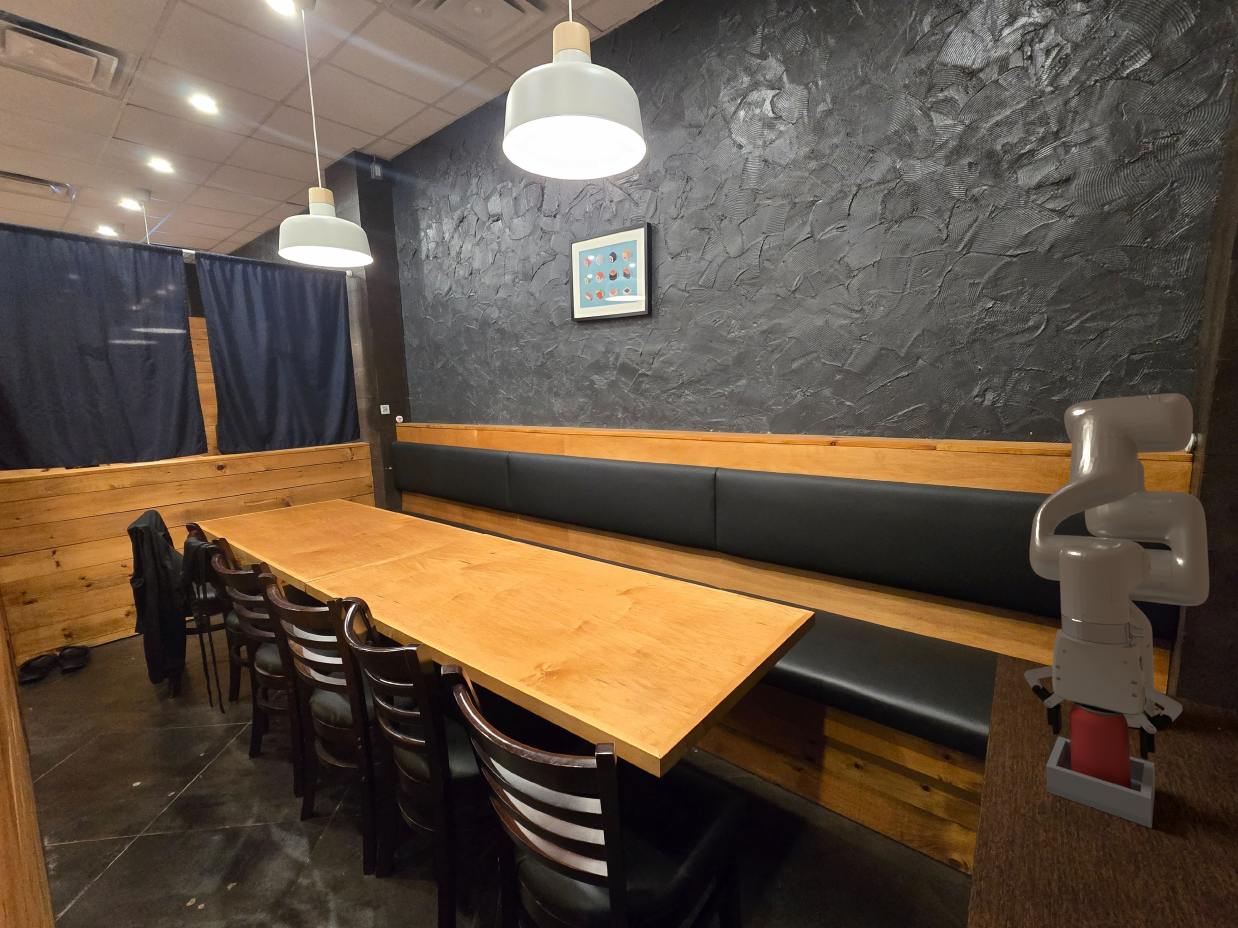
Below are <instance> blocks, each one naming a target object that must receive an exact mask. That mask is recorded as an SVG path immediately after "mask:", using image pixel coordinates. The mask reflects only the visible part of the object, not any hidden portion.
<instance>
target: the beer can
mask: <svg viewBox="0 0 1238 928" xmlns="http://www.w3.org/2000/svg"><path fill="white" fill-rule="evenodd" d="M1068 714H1069V715H1068V718H1069V739H1070V746H1071V771H1075V772H1078V773H1081V774H1084V775H1087V776H1091V777H1094V778H1097V779H1100V780H1103V781H1106V782H1110V783H1113V784H1116V785H1119V786H1122V787H1126V788H1129V789H1131V771H1130V757H1131V751H1130V749H1131V748H1130V746H1131V744H1130V728H1129V726H1128V723H1127V720H1126V718H1125V716H1124V714H1122V713H1118V712H1113V711H1109V710H1105V709H1101V708H1096V707H1092V706H1088V705H1084V704H1080V703H1076V702H1072V704H1071V706H1070V708H1069V710H1068Z"/></svg>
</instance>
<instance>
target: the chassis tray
mask: <svg viewBox="0 0 1238 928" xmlns="http://www.w3.org/2000/svg"><path fill="white" fill-rule="evenodd" d="M1130 771H1131V789H1129V788H1126V787H1122V786H1119V785H1116V784H1113V783H1110V782H1106V781H1103V780H1100V779H1097V778H1094V777H1091V776H1087V775H1084V774H1081V773H1078V772H1075V771H1071V746H1070V738H1065V737H1062V736H1059V735H1058V736H1057V738H1056V740H1055V744H1054V746H1053V749H1052V751H1051V753H1050V756H1049V758H1048V760H1047V763H1046V765H1045V772H1046V792H1047V793H1048V792H1049V793H1048V794H1051V795H1055V796H1058V797H1060V796H1061V798H1063V799H1066V800H1069V801H1072V802H1074V803H1077V804H1080V805H1083V806H1086V807H1090V808H1092V807H1093V808H1092V809H1094V808H1095V810H1097V811H1100V812H1103V813H1106V814H1108V815H1112V816H1115V817H1117V818H1120V817H1121V819H1124V820H1127V821H1129V822H1133V823H1135V824H1138V825H1142V826H1144V827H1147V828H1150V829H1152V828H1153V820H1154V819H1153V817H1154V807H1155V806H1154V805H1155V795H1156V793H1155V792H1156V778H1155V777H1156V776H1155V775H1156V773H1155V762H1152V761H1148V760H1145V759H1141V758H1136V757H1134V756H1130Z"/></svg>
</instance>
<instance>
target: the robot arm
mask: <svg viewBox="0 0 1238 928" xmlns="http://www.w3.org/2000/svg"><path fill="white" fill-rule="evenodd" d="M1193 416H1194V412H1193V407H1192V404H1191V402H1190V400H1189V399H1188V398H1187V397H1186V396H1185V395H1184V394H1181V393H1175V392H1174V393H1173V392H1172V393H1171V392H1169V393H1157V394H1146V395H1134V396H1120V397H1119V396H1118V397H1107V398H1097V399H1091V400H1084V401H1081V402H1076V403H1074V404H1072V405H1070V406H1069V407H1068V408H1066V410H1065V412H1064V415H1063V418H1064V419H1063V421H1064V427H1065V430H1066V434H1067V436H1068V438H1069V439H1068V440H1069V441H1070V443H1071V455H1070V468H1069V480H1068V482H1067V483H1065V484H1064V485H1062V486H1061V487H1059V488H1058V489H1056V490H1055V491H1054V492H1053V493H1051V495H1049V496H1048V497H1047V498H1046V499H1045V500H1044V502H1042V504H1040V506H1039V508H1038V509H1037V510H1036V512H1035V514H1034V517H1033V520H1032V525H1031V534H1030V542H1029V544H1030V545H1029V562H1030V566H1031V568H1032V570H1033V572H1034V573H1035V574H1036V575H1037V576H1039V577H1040V578H1043V579H1045V580H1051V581H1058V582H1059V587H1060V589H1059V592H1060V613H1061V615H1060V617H1061V619H1060V620H1061V629H1058V630H1057V631H1056V634H1055V639H1054V644H1053V652H1052V653H1053V654H1052V665H1048V666H1042V667H1038V668H1033V669H1028V670H1025V672H1024V673H1023V677H1024V678H1025V680H1026V681H1027V683H1028V685H1029V686H1030V688H1031V690H1032V692H1033V693H1034V694H1035V695H1036V696H1037V697H1038V698H1039V699H1040V700H1041V701H1042V702H1043V704H1044V706H1045V707H1046V712H1047V713H1046V714H1047V716H1046V717H1047V725H1048V726H1050V727H1052V734H1053V735H1056V736H1057V735H1058V736H1059V735H1060V733H1061V731H1062V727H1063V724H1062V723H1063V722H1062V721H1063V720H1062V719H1063V718H1062V704H1060V703H1061V702H1062V701H1064V700H1065V701H1068V702H1072V703H1073V702H1076V703H1080V704H1084V705H1088V706H1092V707H1096V708H1101V709H1105V710H1109V711H1113V712H1118V713H1122V714H1124V716H1125V718H1126V720H1127V723H1128V726H1129V727H1130V728H1137V729H1139V752H1140V753H1139V756H1140V758H1142V759H1141V760H1145V761H1148V760H1149V753H1151V754H1155V753H1156V737H1155V736H1156V735H1155V734H1156V733H1157V731H1160V730H1162V729H1164V728H1166V727H1169V726H1171V725H1172V724H1173V722H1174V721H1175V720H1176V719H1177V718H1178V717H1179V716H1180V715H1181V713H1182V712H1183V705H1182V704H1181V703H1180V702H1178V701H1176V700H1175V699H1174V698H1171V697H1169V696H1168V695H1165V694H1163V693H1162V692H1160V691H1159V690H1158V689H1157V690H1156V689H1155V676H1154V674H1155V673H1154V650H1153V649H1154V648H1153V647H1154V646H1153V643H1154V642H1153V641H1154V640H1153V629H1152V628H1153V627H1152V623H1151V621H1150V620H1149V619H1148V617H1147V616H1146V614H1144V611H1142V610H1141V609H1140V608H1139V607H1138V606H1137V605H1136V604H1135V602H1133V601H1139V602H1141V601H1142V602H1148V603H1149V602H1150V603H1156V604H1157V603H1158V604H1166V605H1173V606H1175V605H1176V606H1183V607H1184V606H1185V607H1195V606H1199V605H1203V604H1204V603H1205V602H1206V601H1207V599H1208V597H1209V592H1210V572H1209V571H1210V569H1209V567H1210V566H1209V552H1208V551H1209V550H1208V549H1209V548H1208V533H1207V521H1206V514H1205V510H1204V507H1203V505H1202V502H1201V501H1200V499H1199V498H1197V497H1196V496H1195V495H1193V494H1191V493H1188V492H1184V491H1183V492H1182V491H1172V490H1171V491H1170V490H1163V491H1162V490H1146V487H1145V467H1144V464H1143V463H1142V461H1140V460H1139V458H1138V454H1142V453H1144V454H1146V453H1152V454H1153V453H1174V452H1181V451H1183V450H1185V448H1187V447H1188V446H1189V444H1190V441H1191V439H1192V437H1193V432H1194V431H1193V429H1194V428H1193V427H1194V419H1193V418H1194V417H1193ZM1082 512H1084V520H1085V526H1086V529H1087V531H1088V533H1090V534H1091V535H1092V536H1083V535H1069V534H1068V535H1067V534H1064V535H1063V534H1055V531H1056V529H1057V527H1058V526H1059V524H1060V523H1062V521H1064V520H1066V519H1068V518H1070V516H1074V515H1076V514H1079V513H1082ZM1094 536H1095V537H1094ZM1138 542H1143V543H1160V544H1165V545H1166V546H1168V547H1169V548H1170V549H1171V550H1168V549H1151V548H1144V546H1142V545H1141V544H1139V543H1138ZM1050 677H1051V687H1052V691H1051V692H1050V691H1049V690H1048V689H1047V688H1046V687H1045V686H1044V685H1043V684H1041V682H1040V681H1041V680H1040V679H1044V678H1050ZM1155 704H1158V705H1159V706H1162V707H1163V708H1164V709H1163V710H1162V709H1161V708H1159V707H1157V706H1156V705H1155Z"/></svg>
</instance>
